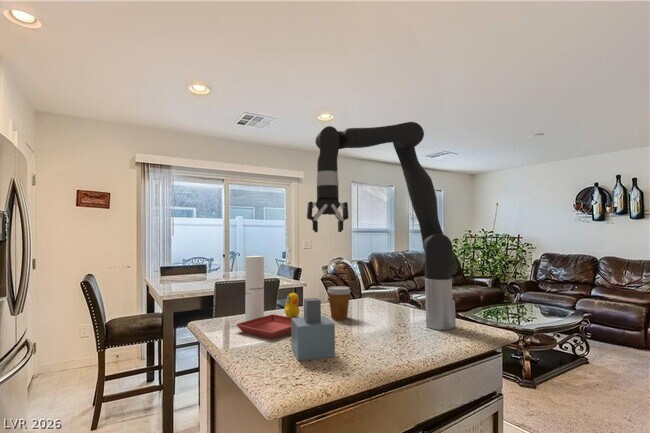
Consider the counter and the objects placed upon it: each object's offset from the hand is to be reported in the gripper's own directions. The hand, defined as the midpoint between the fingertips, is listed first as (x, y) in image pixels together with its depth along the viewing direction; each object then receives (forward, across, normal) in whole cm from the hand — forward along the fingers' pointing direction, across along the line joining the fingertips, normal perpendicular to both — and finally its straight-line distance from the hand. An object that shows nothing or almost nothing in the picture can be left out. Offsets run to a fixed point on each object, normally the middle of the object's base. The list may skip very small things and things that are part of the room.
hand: (328, 232), depth 120 cm
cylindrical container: (+34, +23, -26) cm, 49 cm away
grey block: (+34, +10, +18) cm, 40 cm away
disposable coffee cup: (+34, -10, -20) cm, 41 cm away
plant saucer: (+35, +18, -9) cm, 40 cm away
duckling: (+34, +8, -26) cm, 44 cm away
